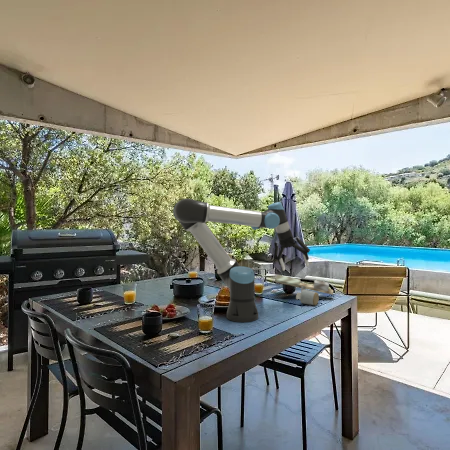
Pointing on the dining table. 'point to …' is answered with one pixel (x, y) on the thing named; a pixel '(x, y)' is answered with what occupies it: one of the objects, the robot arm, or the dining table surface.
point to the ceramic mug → (309, 297)
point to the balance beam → (317, 286)
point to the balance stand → (300, 293)
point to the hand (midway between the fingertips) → (296, 267)
